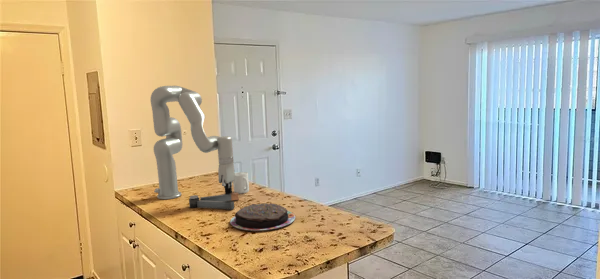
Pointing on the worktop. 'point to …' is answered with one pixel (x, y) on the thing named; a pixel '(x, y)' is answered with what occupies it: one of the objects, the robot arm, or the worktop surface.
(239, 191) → the cup
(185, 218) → the worktop surface
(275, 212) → the chocolate cake
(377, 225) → the worktop surface
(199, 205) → the base
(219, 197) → the tong arm
